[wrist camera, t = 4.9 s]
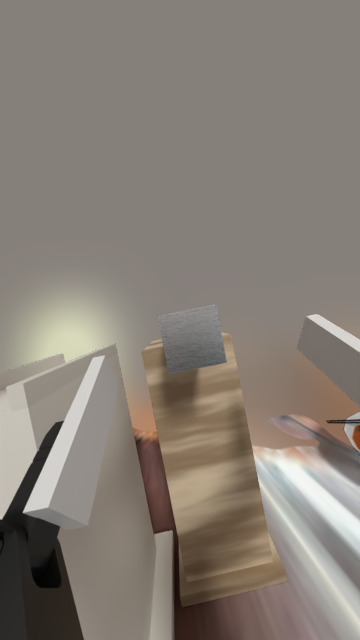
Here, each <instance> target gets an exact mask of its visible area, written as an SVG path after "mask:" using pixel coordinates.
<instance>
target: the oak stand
mask: <svg viewBox="0 0 360 640" xmlns="http://www.w3.org/2000/svg"><path fill="white" fill-rule="evenodd" d="M221 333H222V339H223V344H224V349H225V355H226V360H227V363H223V364H218V365H213V366H208V367H203V368H198V369H193V370H188V371H183V372H178V373H173V374H169V373H168V368H167V363H166V358H165V352H164V347H163V342H162V339H158V340H153V341H152V342H151V343H150V344H149V345H148V346H147V347H146V348H145V350H144V351H143V352H142V357H143V361H144V367H145V372H146V377H147V382H148V387H149V392H150V397H151V402H152V407H153V413H154V418H155V423H156V427H157V433H158V438H159V443H160V448H161V453H162V458H163V463H164V468H165V473H166V478H167V484H168V489H169V494H170V499H171V504H172V509H173V514H174V519H175V524H176V529H177V534H178V539H179V576H180V599H181V604H182V607H186V606H190V605H194V604H198V603H202V602H206V601H211V600H215V599H219V598H223V597H227V596H231V595H235V594H239V593H243V592H247V591H251V590H255V589H259V588H263V587H267V586H271V585H276V584H280V583H284V582H287V578H286V573H285V569H284V567H283V565H282V562H281V560H280V558H279V556H278V553H277V551H276V549H275V546H274V544H273V542H272V540H271V537H270V535H269V533H268V531H267V525H266V520H265V514H264V509H263V504H262V498H261V493H260V488H259V482H258V477H257V472H256V466H255V461H254V456H253V450H252V445H251V440H250V434H249V429H248V424H247V418H246V414H245V408H244V402H243V397H242V392H241V386H240V381H239V376H238V370H237V365H236V360H235V354H234V349H233V343H232V338H231V335H229V334H226V333H223V332H221Z"/></svg>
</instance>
